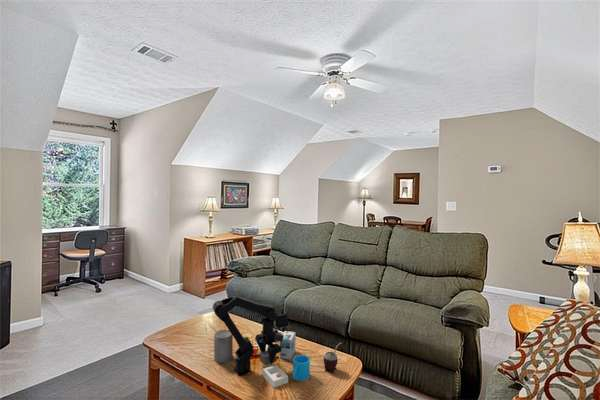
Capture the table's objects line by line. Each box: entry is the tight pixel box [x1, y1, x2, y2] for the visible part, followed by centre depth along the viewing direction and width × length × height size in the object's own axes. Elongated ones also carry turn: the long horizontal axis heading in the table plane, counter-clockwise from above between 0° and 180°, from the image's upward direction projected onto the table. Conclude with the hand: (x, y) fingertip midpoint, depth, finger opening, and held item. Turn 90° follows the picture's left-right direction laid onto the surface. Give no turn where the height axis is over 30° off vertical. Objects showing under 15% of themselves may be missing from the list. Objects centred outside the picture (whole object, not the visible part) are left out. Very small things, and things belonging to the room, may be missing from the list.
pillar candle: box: [213, 329, 234, 364], centre depth 169 cm, size 10×10×15 cm
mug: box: [292, 354, 311, 381], centre depth 152 cm, size 12×8×8 cm
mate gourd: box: [323, 342, 343, 374], centre depth 160 cm, size 8×8×15 cm
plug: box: [259, 350, 277, 368], centre depth 162 cm, size 6×6×7 cm
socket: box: [261, 364, 289, 389], centre depth 151 cm, size 8×12×4 cm, turn 33°
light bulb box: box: [279, 330, 297, 360], centre depth 175 cm, size 11×7×11 cm, turn 168°
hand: (267, 359), depth 162 cm, fingers open, 9 cm apart
